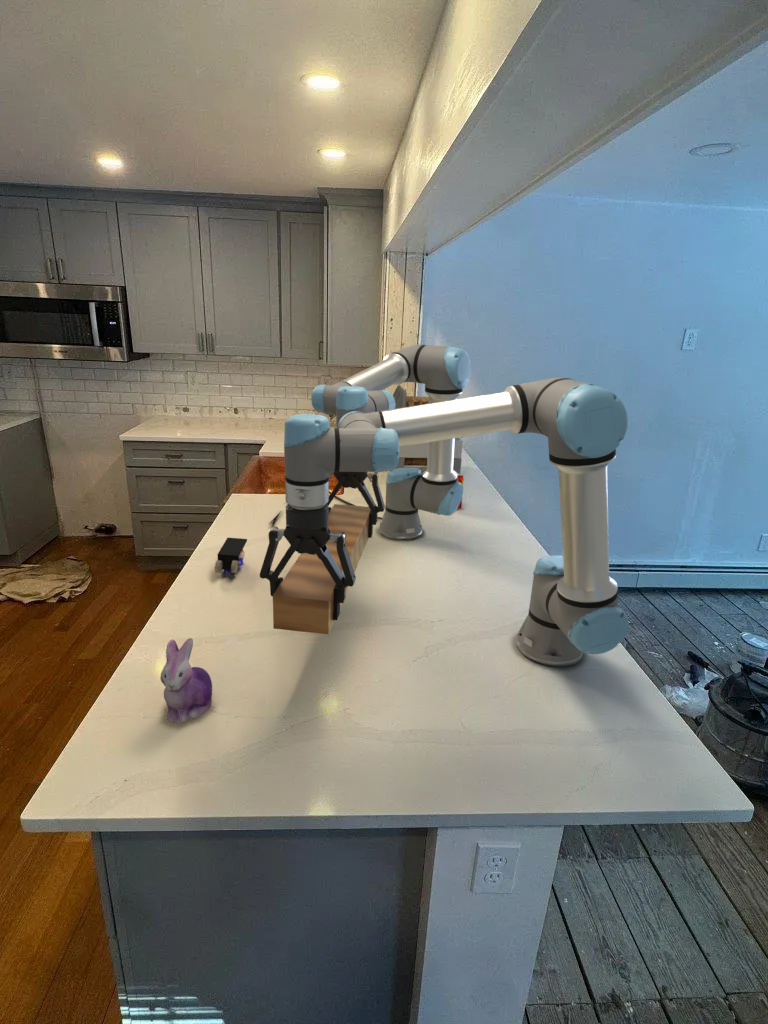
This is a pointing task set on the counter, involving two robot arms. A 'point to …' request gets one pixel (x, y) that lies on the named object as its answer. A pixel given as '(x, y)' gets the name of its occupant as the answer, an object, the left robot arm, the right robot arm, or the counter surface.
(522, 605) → the counter surface
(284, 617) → the thick board
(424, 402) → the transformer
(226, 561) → the figurine character
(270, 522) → the feather
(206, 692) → the figurine
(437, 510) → the left robot arm
